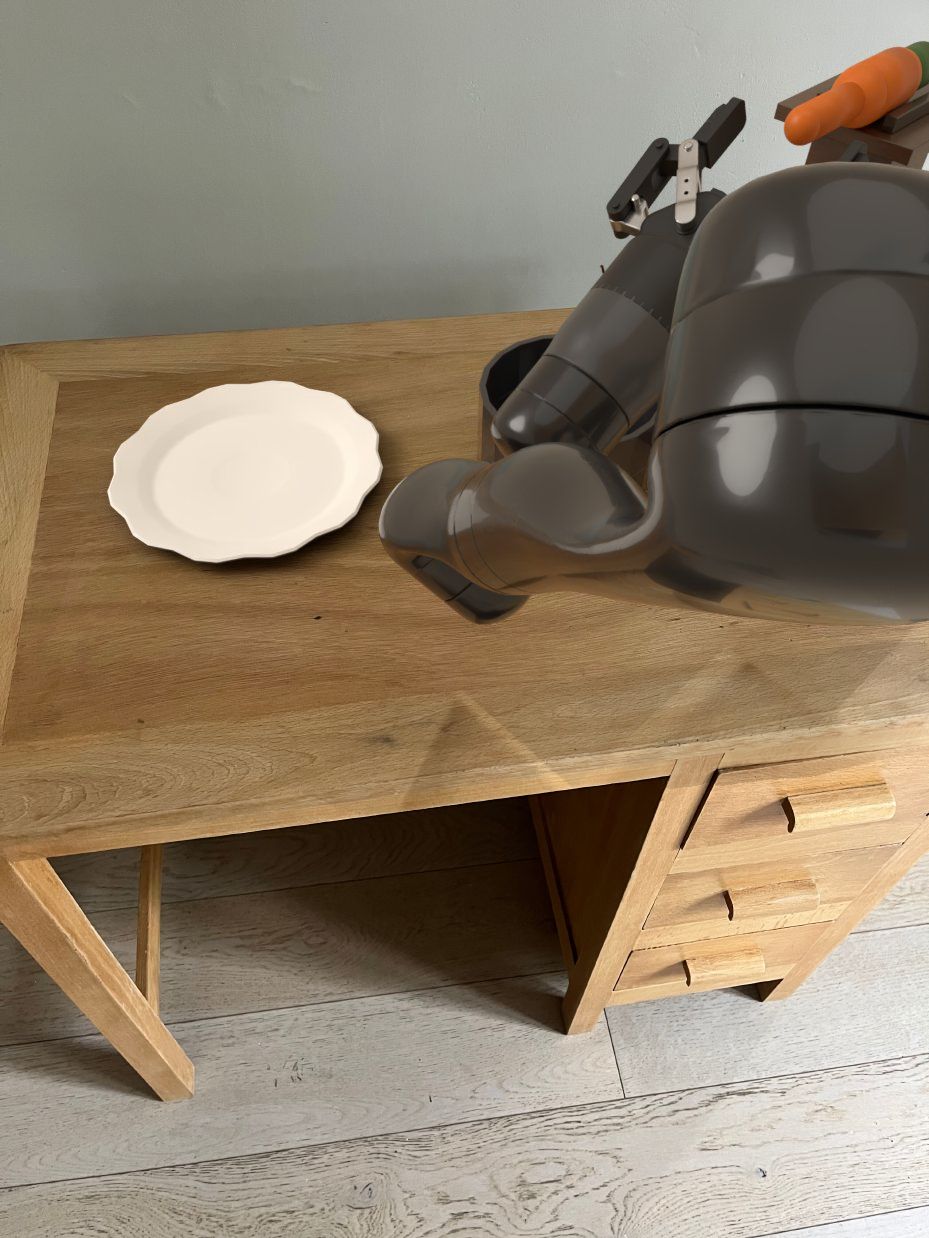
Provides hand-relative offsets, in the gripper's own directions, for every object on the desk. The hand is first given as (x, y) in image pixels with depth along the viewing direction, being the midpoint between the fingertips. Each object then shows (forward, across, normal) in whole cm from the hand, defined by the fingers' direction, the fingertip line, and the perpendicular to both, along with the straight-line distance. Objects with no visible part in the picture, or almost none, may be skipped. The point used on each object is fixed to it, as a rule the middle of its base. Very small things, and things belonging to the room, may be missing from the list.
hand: (798, 129), depth 52 cm
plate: (-39, +32, +16) cm, 53 cm away
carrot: (+5, 0, +4) cm, 7 cm away
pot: (-20, +12, +27) cm, 36 cm away
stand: (-7, 0, +34) cm, 35 cm away
